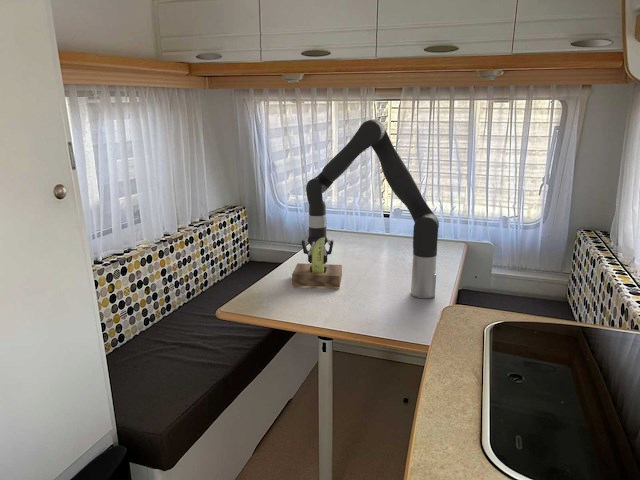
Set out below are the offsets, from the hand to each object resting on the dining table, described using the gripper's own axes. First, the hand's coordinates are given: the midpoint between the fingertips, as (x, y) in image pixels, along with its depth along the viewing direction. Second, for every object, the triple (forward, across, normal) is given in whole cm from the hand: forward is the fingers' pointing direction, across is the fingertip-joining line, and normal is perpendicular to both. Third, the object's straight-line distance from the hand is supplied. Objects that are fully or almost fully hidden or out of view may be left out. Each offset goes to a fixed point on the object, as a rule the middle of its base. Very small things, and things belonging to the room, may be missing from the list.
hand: (317, 263), depth 205 cm
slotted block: (+9, 0, 0) cm, 9 cm away
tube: (+7, 0, 0) cm, 7 cm away
